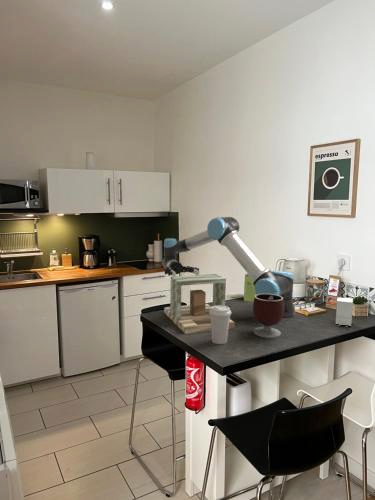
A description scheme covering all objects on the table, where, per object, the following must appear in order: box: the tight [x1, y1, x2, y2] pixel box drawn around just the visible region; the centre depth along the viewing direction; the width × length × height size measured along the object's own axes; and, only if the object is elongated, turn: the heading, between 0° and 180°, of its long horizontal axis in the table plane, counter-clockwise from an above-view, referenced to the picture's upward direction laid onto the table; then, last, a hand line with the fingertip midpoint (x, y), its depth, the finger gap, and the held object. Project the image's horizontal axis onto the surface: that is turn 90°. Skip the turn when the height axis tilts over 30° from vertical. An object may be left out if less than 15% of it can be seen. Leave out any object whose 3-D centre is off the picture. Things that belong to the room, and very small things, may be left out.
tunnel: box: [163, 273, 236, 335], centre depth 195 cm, size 34×25×22 cm
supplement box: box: [335, 297, 354, 327], centre depth 194 cm, size 7×7×13 cm
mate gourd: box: [252, 294, 284, 339], centre depth 178 cm, size 16×14×20 cm
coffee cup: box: [209, 305, 232, 345], centre depth 167 cm, size 10×10×15 cm
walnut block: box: [189, 289, 206, 317], centre depth 196 cm, size 6×6×12 cm
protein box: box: [243, 272, 256, 303], centre depth 237 cm, size 10×15×16 cm
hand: (186, 274), depth 209 cm, fingers open, 13 cm apart
